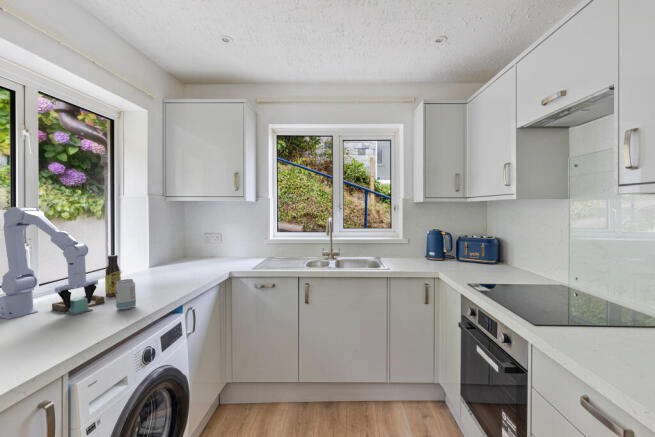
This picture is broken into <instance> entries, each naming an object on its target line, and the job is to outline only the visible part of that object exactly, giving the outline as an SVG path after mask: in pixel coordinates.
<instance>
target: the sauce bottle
mask: <svg viewBox="0 0 655 437" xmlns="http://www.w3.org/2000/svg"><path fill="white" fill-rule="evenodd" d="M118 258H119V256H118V254H114V255H111V254H110V255H107V260H108V261H107V262H108V265H107V267H106V269H105V276H104V278H105V282H104V283H105V284H104V285H105V288H104V289H105V293H104V294H105V297H116V284H117V281H120V280H122V279H121V278H122V277H121V275H122V274H121V269H120V267H119V264H118Z"/></svg>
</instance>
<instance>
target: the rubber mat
mask: <svg viewBox="0 0 655 437" xmlns="http://www.w3.org/2000/svg"><path fill="white" fill-rule="evenodd" d="M92 311H93V312H94V309H92V308H88V310H86V311H82V312H79V313H71V312H65V313H63V314H65V315H69V316H74V317H75V316H78V315H82V314H86V313H89V312H92Z"/></svg>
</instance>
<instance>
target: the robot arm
mask: <svg viewBox="0 0 655 437" xmlns="http://www.w3.org/2000/svg"><path fill="white" fill-rule="evenodd" d="M3 220H4V223H3V234H4V243H5V250H6V258H7V265H8V271H6V273H5V274H3V275H2V281H1V285H0V287H1V290H2V292H3V293H4V294H5V295H1V296H0V318H2V317H3V319H6V320H10V319H14V318H18V317H23V316H25V315H31V314H34V313H38V312H39V310H37V309H34V296H33V295H34V293H33V292H34V290H35V288H36V286H37V285H38V278H37V276H36V275H35V271H34V270H33V269H31V268H29V265H28V259H27V251H26V243H25V235H24V230H25V229H27V228H28V227H29V226H31V225H33V226H36V227H37V228H38V229H40V230H41V231H43V232H44V233H45V234H47V235H48V236H50V242H52V243H53V244H54V245H56V246H57V247H58V248H59V249H60V250H61V251H62V254H63V257H64V258H65V260H66V263H67V264H66V265H67V282H68V283H67V284H64V285H60V286H56V287H54V293H57V295H58V296H59V297H60V298H61V301H63V302H64V304H65V307H66V308H67V309H69V308H71V303H70V299H72V298H71V297H72V292H71V290H76V289H81V288H83V289H84V290H83V291H84V293H85V294H84V296H86V298H87V301H88V303H91V299H92V296H93V295H94V293H95V291H96V289H97V285H99V280H98V279H92V280H91V279H90V280H87V272H86V270H87V268H86V256H87V254H88V253H89V247H88V246H87V244H85V243H84V242H79V241H78V239H74V237H72V235H70V233H69V232H68V231H65V230H59V229H58V227H56V226H55V225H54V224H53V223H52V222H51V221H50V220H49V219H48V218H47V217H45V213H44V212H43V211H42V210H40V208H38V207H35V206H34V207H33V206H31V207H16V206H12V207H11V206H10V208H8V209H7V210H5V211H4V212H3Z"/></svg>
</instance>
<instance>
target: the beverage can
mask: <svg viewBox="0 0 655 437" xmlns="http://www.w3.org/2000/svg"><path fill="white" fill-rule="evenodd" d="M136 304H137V303H136V283H135V281H134V279H132V278H127V279H126V278H125V279H121V280H120V281H117V284H116V296H115V306H116V307H115V308H116V309H118V310H119V311H128V310H132V309H133V308H134V307H136Z"/></svg>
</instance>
